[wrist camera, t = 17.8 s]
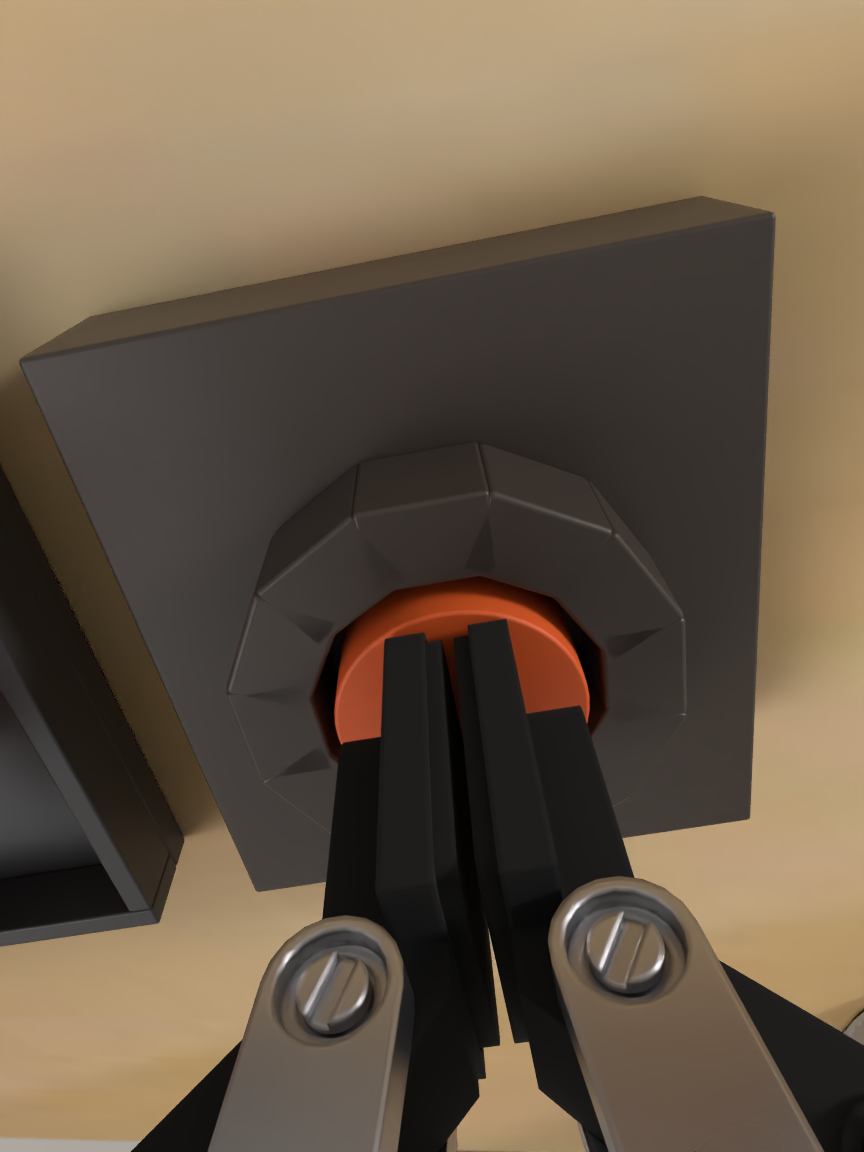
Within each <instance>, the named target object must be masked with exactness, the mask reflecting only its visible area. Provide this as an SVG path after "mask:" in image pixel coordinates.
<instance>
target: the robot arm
mask: <svg viewBox="0 0 864 1152" xmlns="http://www.w3.org/2000/svg"><path fill="white" fill-rule="evenodd" d="M467 627H468V635H469V636H462V637H456V638H454V650H455V660H456V670H457V681H458V691H459V701H460V712H461V722H462V732H463V738H462V733H461V729H460V724H459V719H458V714H457V710H456V705H455V700H454V695H453V691H452V686H451V681H450V676H449V672H448V667H447V662H446V657H445V653H444V648H443V644H442V641H441V640H438V641H432V642H427V638H426V635H425V633H424V632H422V633H416V634H410V635H404V636H398V637H392V638H386V639H385V641H384V660H383V687H382V715H381V737H376V738H369V739H363V740H357V741H350V742H344V743H343V744H342V745H341V747H340V753H339V760H338V770H337V779H336V789H335V799H334V809H333V819H332V829H331V839H330V848H329V858H328V868H327V878H326V888H325V898H324V908H323V917H322V920H320V921H318V922H316V923H313V924H311V925H309V926H306V927H304V928H303V929H302V930H300V931H299V932H298V933H296V934H295V935H294V936H292V937H291V938H290V939H288V940H287V941H286V942H285V943H284V944H283V945H282V947H281V948H280V949H279V950H278V952H277V953H276V954H275V955H274V956H273V958H272V959H271V960H270V962H269V965H268V967H267V969H266V971H265V973H264V975H263V977H262V980H261V982H260V985H259V988H258V992H257V995H256V998H255V1001H254V1004H253V1008H252V1011H251V1014H250V1017H249V1020H248V1024H247V1027H246V1030H245V1033H244V1036H243V1039H242V1040H241V1041H240V1042H239V1043H238V1044H237V1045H236V1046H235V1047H234V1048H233V1049H232V1050H231V1051H230V1052H229V1053H228V1054H227V1055H226V1056H225V1057H224V1058H223V1059H222V1060H221V1061H220V1063H219V1064H218V1065H217V1066H216V1067H215V1068H214V1069H213V1070H212V1071H211V1072H210V1073H209V1074H208V1075H207V1076H206V1077H205V1078H204V1079H203V1080H202V1081H201V1082H200V1083H199V1084H198V1085H197V1086H196V1087H195V1088H194V1089H193V1090H192V1091H191V1092H190V1093H189V1094H188V1095H187V1096H186V1097H185V1098H184V1099H183V1100H182V1101H181V1102H180V1103H179V1104H178V1105H177V1106H176V1107H175V1108H174V1109H173V1110H172V1111H171V1112H170V1113H169V1114H168V1115H167V1116H166V1117H165V1118H164V1119H163V1120H162V1121H161V1122H160V1123H159V1124H158V1125H157V1126H156V1127H155V1128H154V1129H153V1130H152V1131H151V1132H150V1133H149V1134H148V1135H147V1136H146V1137H145V1138H144V1139H143V1140H142V1141H141V1142H140V1143H139V1144H138V1145H137V1146H136V1147H135V1148H134V1149H133V1150H132V1151H131V1152H457V1146H458V1145H457V1128H456V1127H457V1126H458V1125H459V1123H460V1122H461V1121H462V1119H463V1118H464V1117H465V1115H466V1114H467V1113H468V1111H469V1110H470V1109H471V1107H472V1106H473V1105H474V1103H475V1102H476V1101H477V1099H478V1098H479V1084H478V1079H485V1078H486V1073H485V1061H484V1050H483V1048H484V1047H492V1046H499V1045H500V1035H499V1025H498V1016H497V1006H496V997H495V987H494V978H493V968H492V959H491V949H490V940H489V932H490V937H491V941H492V946H493V950H494V955H495V959H496V963H497V968H498V972H499V977H500V981H501V986H502V990H503V994H504V999H505V1003H506V1008H507V1012H508V1017H509V1021H510V1025H511V1030H512V1034H513V1039H514V1043H522V1042H529V1044H530V1049H531V1054H532V1058H533V1063H534V1068H535V1073H536V1078H537V1082H538V1087H539V1090H541V1091H542V1092H543V1093H544V1094H545V1095H547V1096H548V1097H549V1098H550V1099H552V1100H553V1101H554V1102H555V1103H556V1104H558V1105H559V1106H560V1107H561V1108H562V1109H564V1110H565V1111H566V1112H567V1113H568V1114H570V1115H571V1116H572V1117H573V1118H574V1119H576V1120H577V1121H578V1127H579V1132H580V1135H581V1138H582V1141H583V1144H584V1147H585V1151H586V1152H864V1045H863V1044H861V1043H859V1042H857V1041H856V1040H854V1039H852V1038H851V1037H849V1036H847V1035H846V1034H844V1033H842V1032H840V1031H839V1030H837V1029H835V1028H834V1027H832V1026H830V1025H828V1024H827V1023H825V1022H823V1021H822V1020H820V1019H818V1018H817V1017H815V1016H813V1015H811V1014H810V1013H808V1012H806V1011H805V1010H803V1009H801V1008H800V1007H798V1006H796V1005H794V1004H793V1003H791V1002H789V1001H788V1000H786V999H784V998H783V997H781V996H779V995H777V994H776V993H774V992H772V991H771V990H769V989H767V988H765V987H764V986H762V985H760V984H759V983H757V982H755V981H754V980H752V979H750V978H748V977H747V976H745V975H743V974H742V973H740V972H738V971H737V970H735V969H733V968H731V967H730V966H728V965H726V964H725V963H723V962H721V961H719V960H718V958H717V956H716V954H715V952H714V951H713V949H712V947H711V945H710V943H709V942H708V940H707V938H706V936H705V934H704V932H703V931H702V929H701V927H700V925H699V923H698V922H697V920H696V919H695V917H694V916H693V915H692V913H691V912H690V911H689V909H688V908H687V907H686V906H685V904H684V903H683V902H682V901H681V900H679V899H678V898H677V897H675V896H674V895H673V894H671V893H670V892H669V891H667V890H666V889H665V888H663V887H661V886H658V885H656V884H653V883H651V882H648V881H646V880H643V879H638V878H634V875H633V872H632V869H631V865H630V862H629V859H628V856H627V852H626V849H625V846H624V843H623V839H622V836H621V833H620V829H619V826H618V823H617V820H616V816H615V813H614V810H613V807H612V803H611V800H610V797H609V794H608V790H607V787H606V784H605V780H604V777H603V774H602V771H601V767H600V764H599V761H598V758H597V754H596V751H595V748H594V744H593V741H592V738H591V735H590V731H589V728H588V725H587V722H586V718H585V715H584V713H583V710H582V708H581V706H580V705H578V706H572V707H565V708H559V709H553V710H547V711H540V712H534V713H528V714H526V710H525V705H524V700H523V695H522V690H521V686H520V681H519V676H518V671H517V666H516V662H515V657H514V652H513V647H512V642H511V638H510V633H509V628H508V623H507V619H500V620H494V621H488V622H482V623H476V624H470V625H467ZM463 742H464V743H463ZM488 928H489V930H488Z"/></svg>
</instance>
